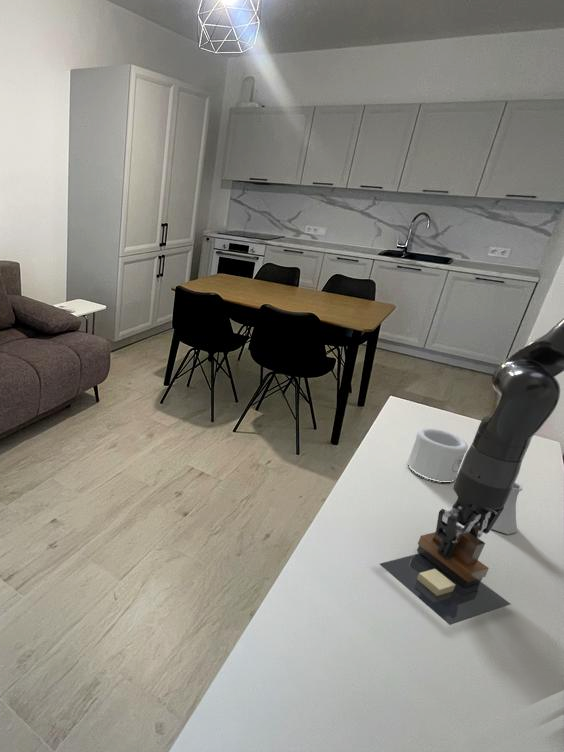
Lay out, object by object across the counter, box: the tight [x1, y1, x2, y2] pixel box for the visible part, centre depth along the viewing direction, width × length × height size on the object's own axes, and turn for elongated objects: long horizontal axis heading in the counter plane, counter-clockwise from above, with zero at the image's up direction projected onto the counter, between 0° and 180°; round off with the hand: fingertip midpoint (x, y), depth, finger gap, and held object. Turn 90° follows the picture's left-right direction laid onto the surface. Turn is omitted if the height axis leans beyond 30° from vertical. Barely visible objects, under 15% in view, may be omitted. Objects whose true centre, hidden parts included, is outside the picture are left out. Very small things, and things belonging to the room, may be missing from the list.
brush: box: [416, 530, 490, 587], centre depth 90 cm, size 4×10×8 cm, turn 21°
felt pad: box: [417, 569, 455, 596], centre depth 87 cm, size 4×4×2 cm
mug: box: [407, 427, 469, 484], centre depth 125 cm, size 14×11×10 cm
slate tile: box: [379, 552, 511, 626], centre depth 88 cm, size 15×14×1 cm
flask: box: [490, 482, 523, 535], centre depth 105 cm, size 7×7×10 cm
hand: (453, 553), depth 90 cm, fingers closed on brush, 4 cm apart
